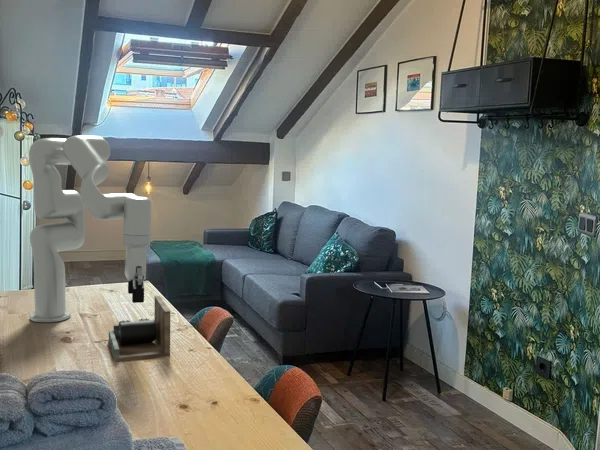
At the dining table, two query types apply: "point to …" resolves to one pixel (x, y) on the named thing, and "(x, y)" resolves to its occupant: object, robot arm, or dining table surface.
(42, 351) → the dining table surface
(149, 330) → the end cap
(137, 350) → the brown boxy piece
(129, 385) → the dining table surface
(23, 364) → the dining table surface
